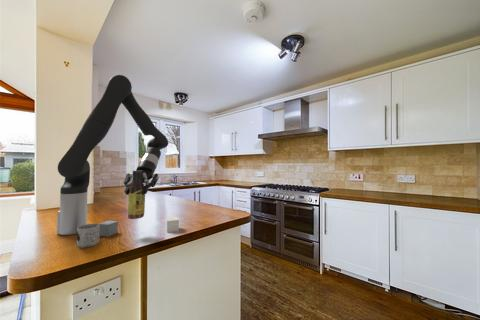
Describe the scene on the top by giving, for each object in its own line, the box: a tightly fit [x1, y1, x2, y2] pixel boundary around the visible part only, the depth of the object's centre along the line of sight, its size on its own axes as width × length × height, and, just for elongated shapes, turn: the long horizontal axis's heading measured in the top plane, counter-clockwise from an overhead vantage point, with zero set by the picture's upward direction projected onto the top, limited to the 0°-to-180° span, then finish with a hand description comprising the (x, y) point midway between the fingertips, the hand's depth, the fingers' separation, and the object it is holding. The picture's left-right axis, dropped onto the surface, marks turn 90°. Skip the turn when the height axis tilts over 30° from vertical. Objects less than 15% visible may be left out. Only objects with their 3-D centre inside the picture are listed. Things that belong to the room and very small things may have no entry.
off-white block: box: [166, 216, 180, 233], centre depth 90 cm, size 5×5×5 cm
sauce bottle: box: [127, 170, 146, 220], centre depth 83 cm, size 6×6×20 cm
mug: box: [76, 223, 100, 249], centre depth 72 cm, size 10×7×7 cm, turn 24°
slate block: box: [98, 220, 119, 238], centre depth 84 cm, size 5×5×5 cm
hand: (134, 193), depth 81 cm, fingers closed on sauce bottle, 6 cm apart
